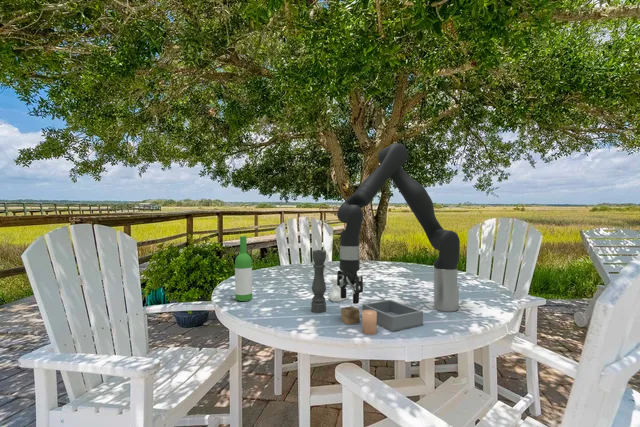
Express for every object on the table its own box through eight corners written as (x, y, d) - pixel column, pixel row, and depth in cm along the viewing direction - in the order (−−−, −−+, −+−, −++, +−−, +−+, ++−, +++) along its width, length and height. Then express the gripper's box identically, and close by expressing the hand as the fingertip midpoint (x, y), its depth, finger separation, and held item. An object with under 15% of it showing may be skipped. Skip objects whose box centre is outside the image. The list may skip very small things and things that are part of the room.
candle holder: (321, 313, 135) (321, 252, 134) (308, 311, 138) (308, 251, 137) (328, 309, 140) (329, 250, 139) (316, 307, 143) (317, 249, 142)
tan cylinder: (370, 328, 118) (370, 308, 118) (379, 333, 113) (379, 312, 113) (359, 330, 115) (359, 310, 115) (367, 335, 111) (367, 314, 111)
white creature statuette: (348, 298, 158) (348, 273, 158) (345, 303, 149) (345, 277, 149) (329, 297, 160) (329, 272, 160) (324, 302, 152) (324, 276, 152)
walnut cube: (352, 319, 128) (352, 306, 128) (359, 322, 124) (359, 309, 124) (341, 321, 126) (341, 308, 126) (348, 325, 122) (348, 311, 121)
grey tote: (390, 311, 137) (390, 299, 137) (423, 325, 121) (422, 311, 121) (362, 317, 130) (362, 304, 130) (393, 331, 114) (392, 317, 114)
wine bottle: (253, 297, 160) (253, 235, 160) (250, 302, 152) (249, 237, 152) (237, 297, 160) (237, 235, 160) (233, 302, 153) (232, 237, 152)
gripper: (369, 259, 120) (368, 304, 120) (347, 254, 133) (347, 295, 133) (351, 261, 117) (351, 306, 117) (331, 256, 129) (331, 297, 129)
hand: (349, 300), depth 125 cm, fingers open, 8 cm apart
